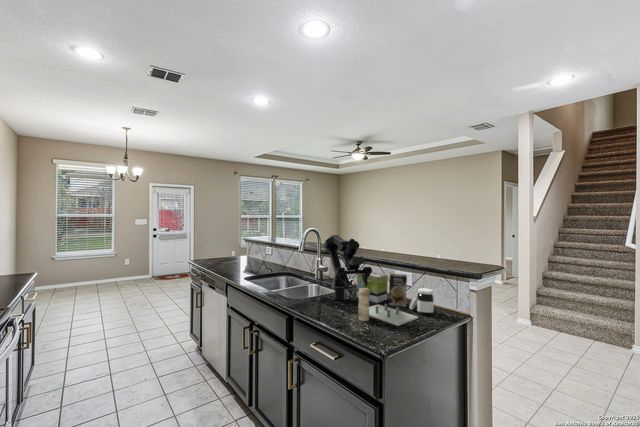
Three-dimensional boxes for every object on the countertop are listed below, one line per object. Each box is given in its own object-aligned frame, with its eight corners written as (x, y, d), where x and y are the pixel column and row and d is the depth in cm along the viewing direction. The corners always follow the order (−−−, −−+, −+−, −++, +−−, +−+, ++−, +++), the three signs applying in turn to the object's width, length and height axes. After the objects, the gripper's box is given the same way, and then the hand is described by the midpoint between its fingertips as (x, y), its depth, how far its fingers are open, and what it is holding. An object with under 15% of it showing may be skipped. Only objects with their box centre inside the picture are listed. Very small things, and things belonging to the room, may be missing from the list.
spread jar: (434, 317, 148) (435, 292, 148) (410, 314, 150) (410, 291, 150) (430, 309, 160) (431, 287, 160) (408, 307, 162) (408, 285, 162)
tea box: (355, 297, 179) (356, 272, 179) (366, 294, 186) (366, 270, 186) (377, 303, 169) (378, 276, 169) (387, 300, 176) (388, 274, 176)
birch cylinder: (358, 317, 146) (359, 287, 146) (369, 318, 145) (369, 288, 145) (357, 320, 141) (358, 290, 141) (368, 321, 140) (369, 291, 140)
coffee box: (388, 305, 165) (389, 275, 165) (388, 302, 171) (389, 273, 171) (406, 307, 163) (406, 276, 163) (405, 303, 169) (406, 274, 169)
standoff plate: (357, 311, 153) (357, 304, 153) (378, 305, 164) (378, 298, 164) (398, 325, 135) (398, 317, 135) (418, 318, 146) (418, 310, 146)
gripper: (336, 251, 153) (344, 278, 142) (371, 251, 158) (380, 276, 147) (331, 264, 160) (338, 291, 150) (364, 263, 165) (373, 289, 155)
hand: (357, 286), depth 150 cm, fingers open, 9 cm apart
